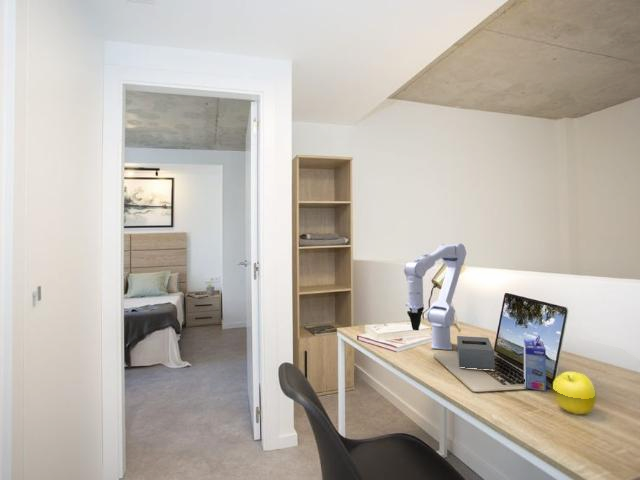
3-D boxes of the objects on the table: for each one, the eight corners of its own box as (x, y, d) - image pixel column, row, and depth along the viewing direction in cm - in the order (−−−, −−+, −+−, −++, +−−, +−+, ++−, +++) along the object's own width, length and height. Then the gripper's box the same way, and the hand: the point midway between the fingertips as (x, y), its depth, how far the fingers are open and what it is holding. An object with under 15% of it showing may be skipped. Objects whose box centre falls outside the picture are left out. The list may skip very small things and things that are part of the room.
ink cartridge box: (547, 392, 99) (545, 341, 100) (525, 389, 102) (523, 339, 102) (544, 379, 108) (542, 333, 108) (523, 377, 111) (521, 331, 111)
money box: (457, 354, 135) (457, 335, 135) (489, 356, 131) (488, 337, 131) (459, 368, 120) (458, 348, 120) (494, 371, 116) (494, 350, 116)
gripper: (406, 290, 144) (407, 323, 144) (403, 295, 130) (403, 331, 130) (424, 290, 142) (425, 324, 142) (422, 295, 128) (423, 332, 128)
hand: (416, 327), depth 136 cm, fingers open, 7 cm apart
